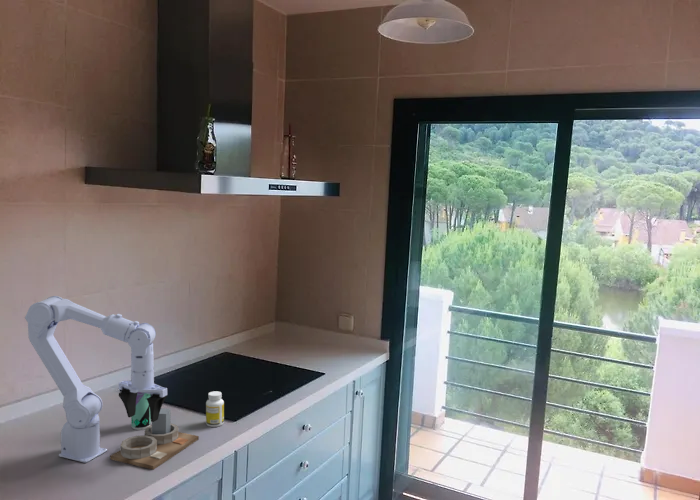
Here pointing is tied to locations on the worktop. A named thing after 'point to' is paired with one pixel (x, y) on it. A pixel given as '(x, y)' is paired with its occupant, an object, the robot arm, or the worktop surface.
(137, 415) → the spray can
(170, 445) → the socket board
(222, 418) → the supplement bottle
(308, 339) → the worktop surface
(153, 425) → the plug
